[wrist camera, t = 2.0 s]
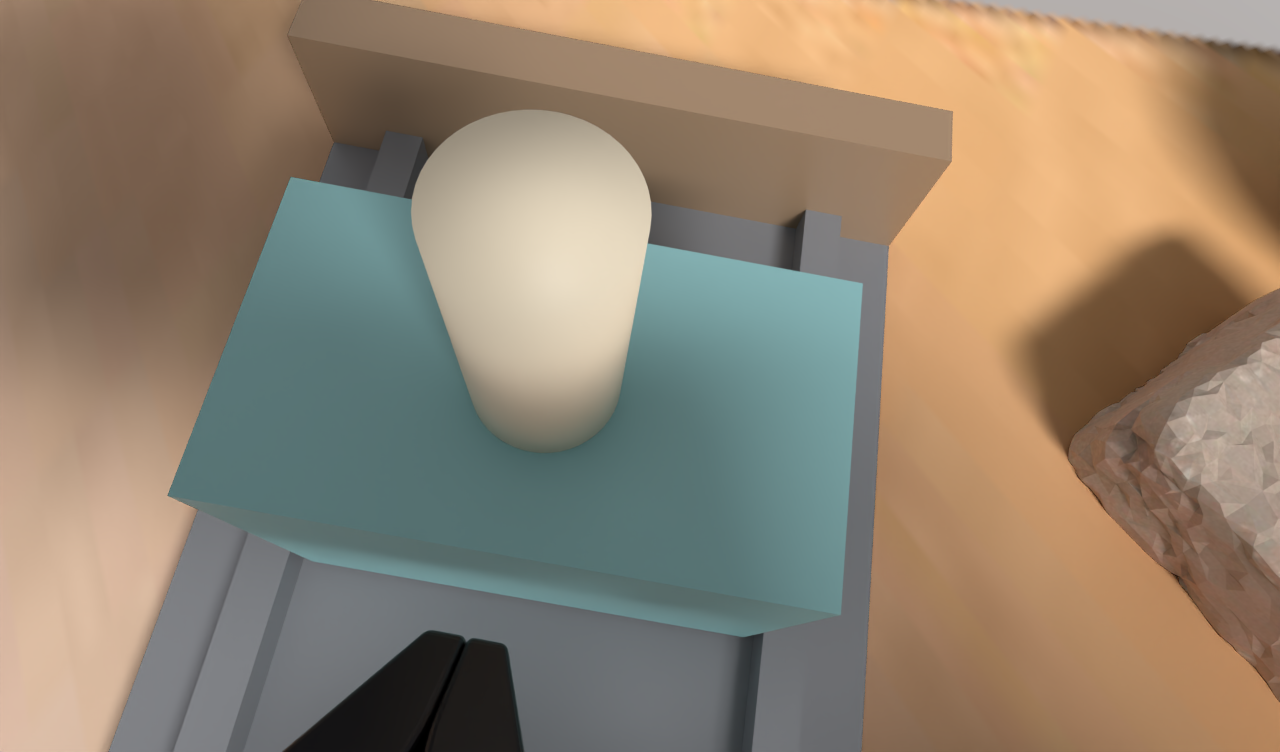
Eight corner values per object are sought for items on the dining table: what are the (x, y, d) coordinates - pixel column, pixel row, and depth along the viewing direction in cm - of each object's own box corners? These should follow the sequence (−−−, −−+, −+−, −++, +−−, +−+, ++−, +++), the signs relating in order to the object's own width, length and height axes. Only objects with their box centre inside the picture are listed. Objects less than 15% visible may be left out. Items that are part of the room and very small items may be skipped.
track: (831, 951, 18) (932, 1055, 13) (108, 829, 17) (-73, 888, 12) (876, 221, 24) (952, 108, 20) (360, 124, 24) (308, -15, 19)
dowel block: (743, 637, 18) (1020, 574, 7) (312, 561, 18) (-105, 372, 7) (768, 410, 20) (1013, 82, 9) (380, 339, 20) (145, -85, 9)
